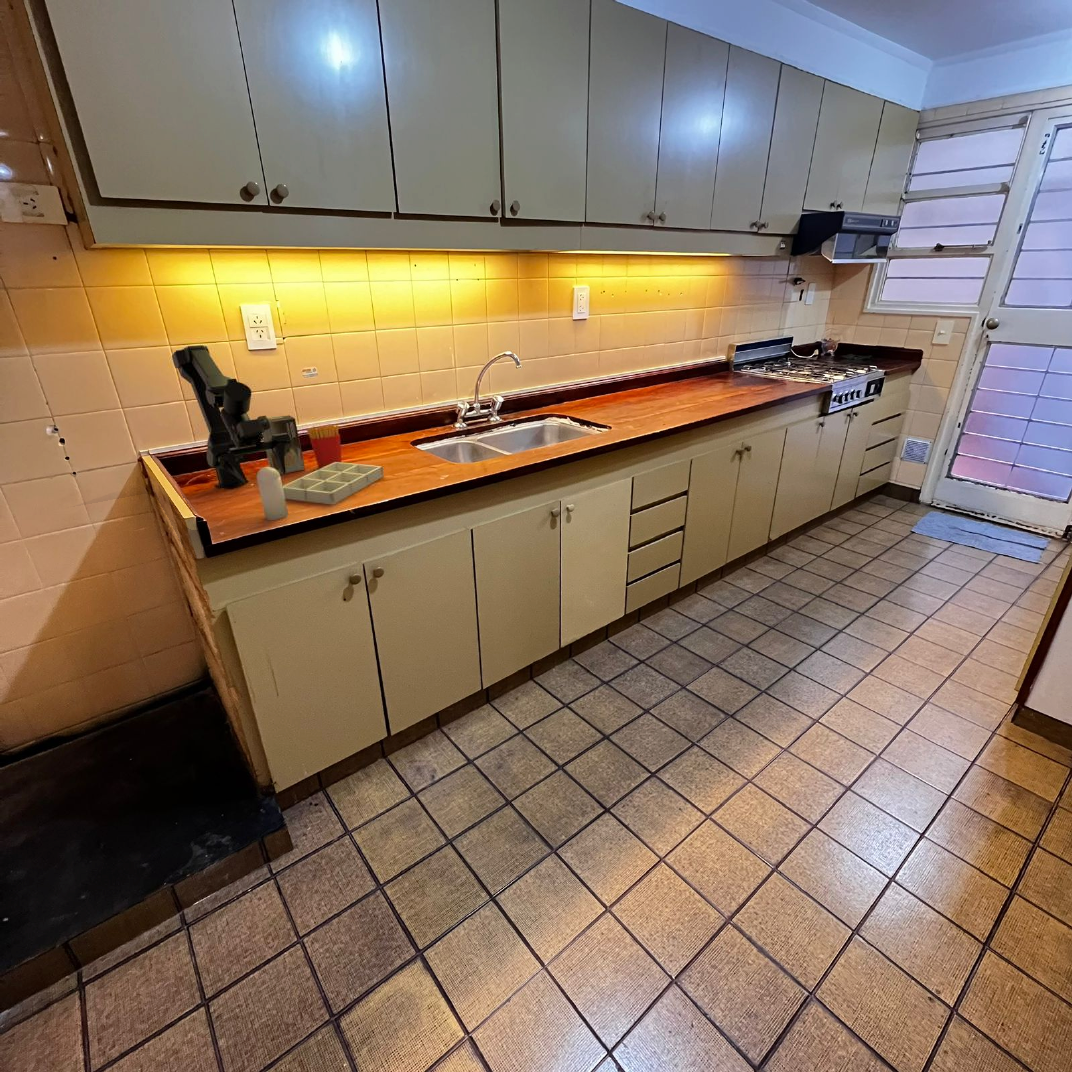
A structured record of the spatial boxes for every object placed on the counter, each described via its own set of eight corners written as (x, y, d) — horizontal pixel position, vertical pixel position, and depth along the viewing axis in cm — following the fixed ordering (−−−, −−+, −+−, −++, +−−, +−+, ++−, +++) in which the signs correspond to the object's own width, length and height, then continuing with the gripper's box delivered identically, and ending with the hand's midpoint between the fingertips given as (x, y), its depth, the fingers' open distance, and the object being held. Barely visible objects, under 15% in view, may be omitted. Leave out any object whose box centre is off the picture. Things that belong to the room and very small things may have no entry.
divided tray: (281, 498, 152) (279, 487, 151) (336, 471, 173) (335, 461, 171) (333, 504, 147) (331, 493, 146) (383, 476, 168) (382, 466, 167)
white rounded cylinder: (260, 518, 139) (249, 469, 134) (275, 511, 143) (265, 463, 138) (278, 521, 137) (267, 471, 132) (292, 513, 142) (282, 465, 137)
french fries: (342, 462, 182) (335, 422, 176) (345, 465, 178) (339, 424, 173) (312, 467, 177) (305, 426, 172) (315, 470, 174) (308, 428, 169)
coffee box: (300, 465, 180) (290, 414, 173) (305, 469, 175) (296, 418, 168) (269, 470, 175) (258, 418, 168) (274, 475, 170) (263, 422, 163)
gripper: (199, 412, 129) (227, 468, 126) (282, 400, 140) (309, 451, 138) (198, 440, 137) (224, 493, 134) (276, 427, 149) (301, 476, 146)
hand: (266, 477), depth 138 cm, fingers open, 9 cm apart
